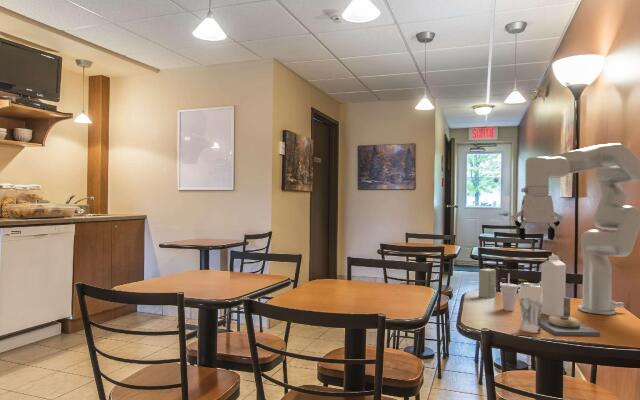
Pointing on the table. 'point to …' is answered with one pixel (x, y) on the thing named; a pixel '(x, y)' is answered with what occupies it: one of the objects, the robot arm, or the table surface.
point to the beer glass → (531, 306)
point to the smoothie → (509, 294)
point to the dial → (565, 317)
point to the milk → (553, 286)
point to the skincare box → (487, 283)
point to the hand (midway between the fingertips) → (536, 239)
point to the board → (568, 329)
